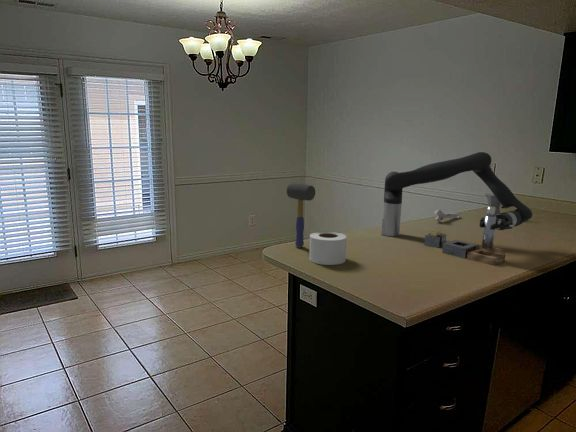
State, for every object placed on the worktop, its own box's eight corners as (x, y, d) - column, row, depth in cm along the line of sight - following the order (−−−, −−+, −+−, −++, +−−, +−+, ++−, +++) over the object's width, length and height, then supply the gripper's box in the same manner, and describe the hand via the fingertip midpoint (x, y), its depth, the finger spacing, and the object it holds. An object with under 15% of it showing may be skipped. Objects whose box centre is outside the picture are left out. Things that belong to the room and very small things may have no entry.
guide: (431, 241, 219) (432, 232, 218) (445, 244, 215) (446, 234, 214) (424, 245, 212) (425, 235, 211) (438, 247, 208) (439, 237, 207)
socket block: (442, 252, 200) (443, 243, 199) (454, 248, 207) (455, 239, 206) (465, 258, 192) (466, 248, 191) (477, 254, 199) (478, 244, 198)
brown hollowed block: (466, 258, 192) (467, 247, 191) (477, 254, 198) (478, 244, 197) (493, 265, 183) (495, 254, 182) (504, 261, 189) (505, 250, 188)
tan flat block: (439, 240, 221) (440, 226, 219) (444, 241, 219) (446, 227, 217) (429, 245, 212) (430, 230, 210) (435, 246, 210) (436, 231, 208)
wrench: (458, 222, 280) (435, 223, 260) (456, 221, 281) (432, 222, 261) (460, 210, 279) (437, 209, 259) (458, 209, 280) (434, 209, 260)
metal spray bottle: (482, 248, 188) (486, 207, 184) (481, 245, 192) (485, 205, 188) (493, 249, 187) (498, 208, 183) (492, 246, 191) (496, 206, 187)
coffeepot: (478, 217, 283) (481, 189, 279) (486, 215, 288) (489, 188, 285) (502, 221, 271) (505, 192, 267) (509, 219, 276) (513, 191, 273)
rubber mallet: (284, 246, 206) (285, 182, 200) (294, 243, 211) (295, 181, 205) (304, 251, 198) (306, 185, 192) (314, 248, 203) (317, 184, 197)
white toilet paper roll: (308, 254, 194) (309, 230, 192) (343, 255, 194) (344, 231, 191) (309, 265, 179) (310, 239, 177) (347, 266, 178) (348, 240, 176)
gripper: (489, 210, 201) (471, 214, 190) (522, 215, 190) (504, 220, 179) (487, 225, 203) (469, 231, 192) (520, 231, 192) (502, 238, 181)
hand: (486, 226), depth 186 cm, fingers closed on metal spray bottle, 4 cm apart
